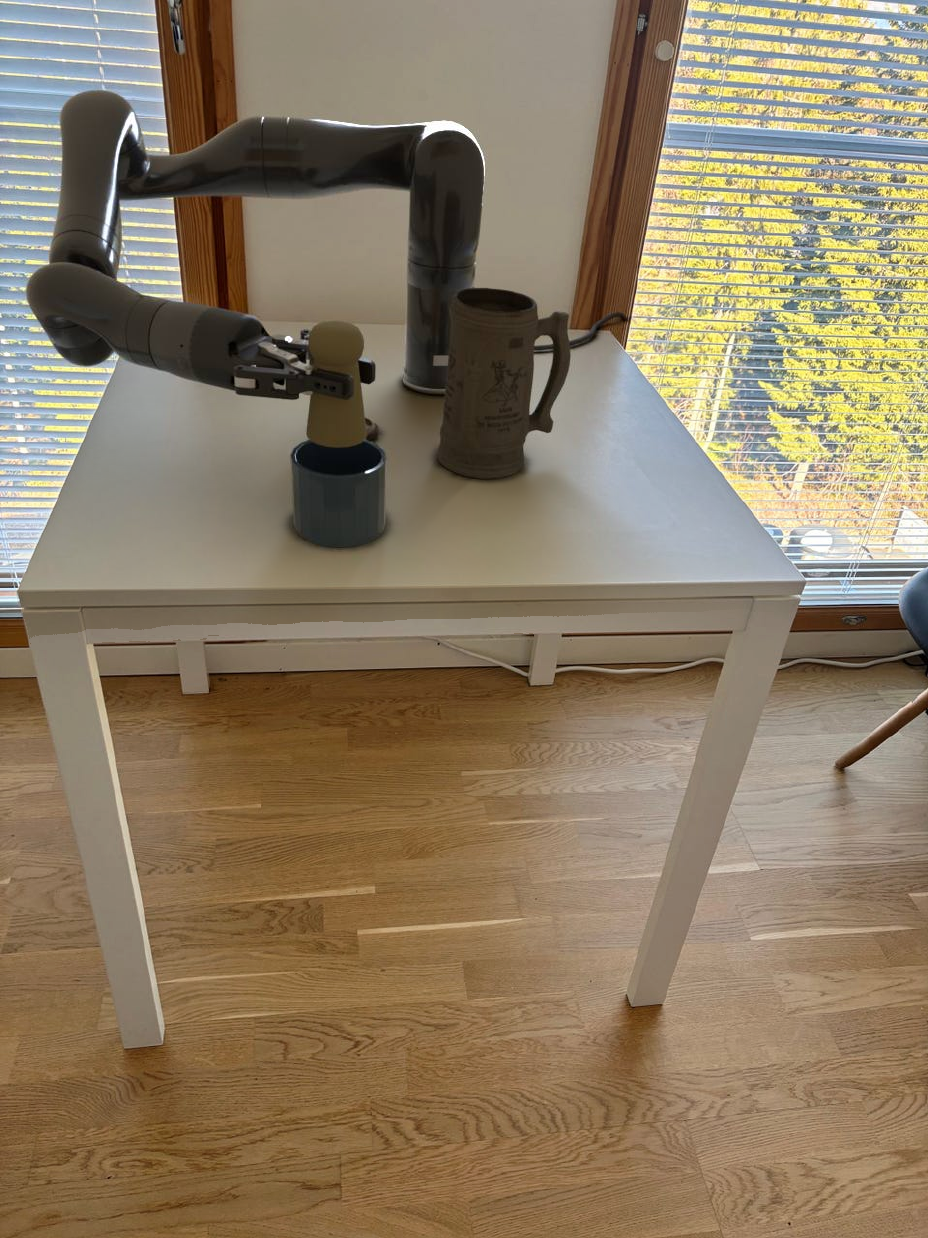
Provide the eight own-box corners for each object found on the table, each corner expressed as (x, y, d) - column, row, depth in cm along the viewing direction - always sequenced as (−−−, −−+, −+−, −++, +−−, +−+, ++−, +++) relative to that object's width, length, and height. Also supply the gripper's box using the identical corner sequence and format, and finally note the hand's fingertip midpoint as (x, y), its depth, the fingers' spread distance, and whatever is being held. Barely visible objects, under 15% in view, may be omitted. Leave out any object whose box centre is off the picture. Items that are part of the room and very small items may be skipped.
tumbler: (358, 495, 102) (358, 429, 97) (401, 533, 95) (403, 465, 91) (279, 514, 97) (275, 445, 92) (319, 556, 91) (317, 484, 86)
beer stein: (456, 486, 105) (480, 312, 94) (417, 448, 113) (435, 283, 101) (565, 474, 112) (600, 311, 101) (521, 439, 119) (549, 283, 108)
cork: (356, 451, 88) (357, 339, 81) (297, 441, 88) (293, 329, 82) (374, 427, 92) (376, 319, 86) (317, 418, 93) (315, 310, 87)
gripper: (160, 327, 83) (327, 364, 78) (245, 290, 94) (396, 321, 89) (169, 405, 87) (327, 444, 83) (250, 360, 98) (393, 393, 94)
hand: (362, 380), depth 86 cm, fingers closed on cork, 4 cm apart
